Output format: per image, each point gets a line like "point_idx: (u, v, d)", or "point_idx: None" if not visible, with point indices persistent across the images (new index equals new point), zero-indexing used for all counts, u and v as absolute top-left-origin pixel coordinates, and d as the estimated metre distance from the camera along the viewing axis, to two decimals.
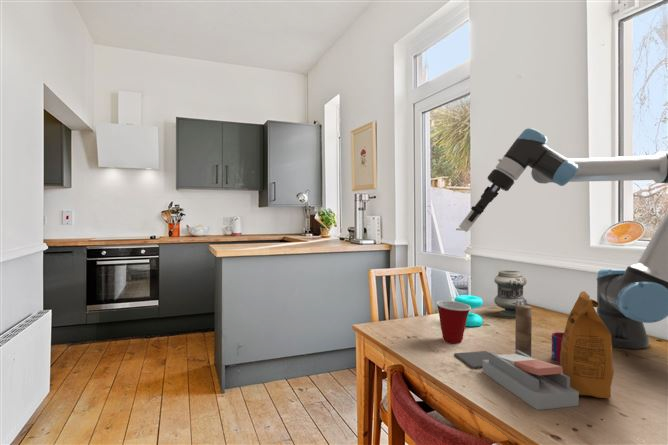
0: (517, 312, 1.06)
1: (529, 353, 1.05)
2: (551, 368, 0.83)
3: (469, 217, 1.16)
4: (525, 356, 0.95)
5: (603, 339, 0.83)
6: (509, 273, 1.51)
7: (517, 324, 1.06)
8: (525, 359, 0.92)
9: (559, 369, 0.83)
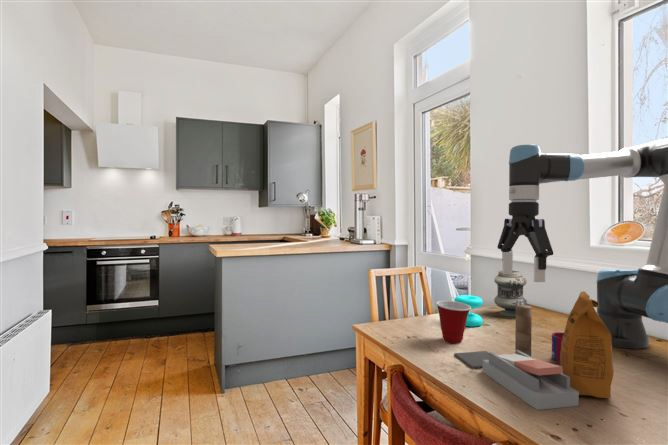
0: (517, 312, 1.06)
1: (529, 353, 1.05)
2: (551, 368, 0.83)
3: (541, 266, 0.99)
4: (525, 356, 0.95)
5: (602, 339, 0.83)
6: None
7: (517, 324, 1.06)
8: (525, 359, 0.92)
9: (559, 369, 0.83)
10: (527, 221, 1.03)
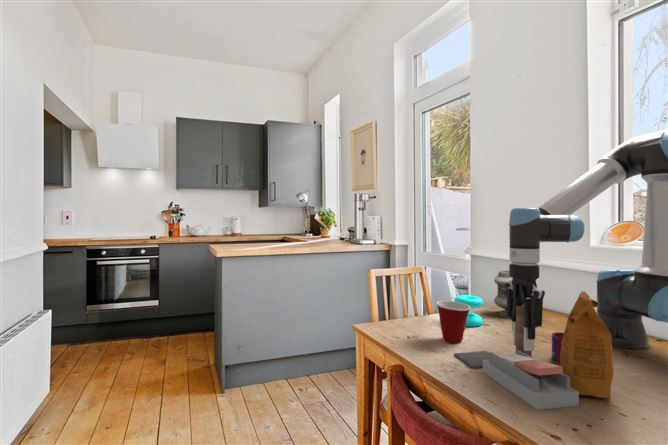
0: (517, 312, 1.06)
1: (529, 353, 1.05)
2: (551, 368, 0.83)
3: (530, 337, 1.03)
4: (525, 356, 0.95)
5: (603, 339, 0.83)
6: None
7: (517, 324, 1.06)
8: (525, 359, 0.92)
9: (559, 369, 0.83)
10: (528, 286, 1.03)
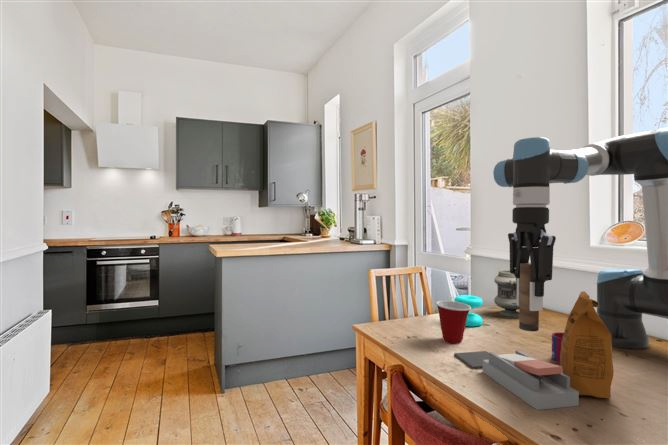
0: (521, 270, 0.88)
1: (536, 319, 0.87)
2: (551, 368, 0.83)
3: (538, 293, 0.85)
4: (525, 356, 0.95)
5: (603, 339, 0.83)
6: (509, 273, 1.51)
7: (521, 285, 0.88)
8: (525, 359, 0.92)
9: (559, 369, 0.83)
10: (535, 231, 0.85)
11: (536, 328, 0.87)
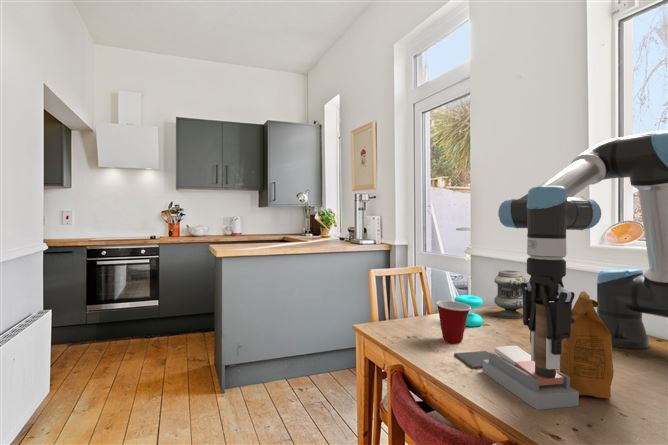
0: (538, 312, 0.83)
1: None
2: (552, 379, 0.82)
3: (555, 351, 0.80)
4: None
5: (603, 339, 0.83)
6: (509, 273, 1.51)
7: (538, 327, 0.83)
8: (526, 358, 0.91)
9: (560, 380, 0.83)
10: (552, 286, 0.80)
11: (553, 373, 0.82)
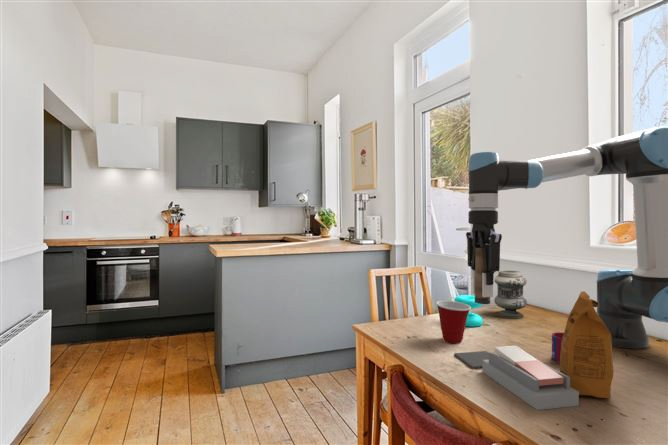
0: (476, 253, 1.05)
1: None
2: (552, 379, 0.82)
3: (488, 282, 1.02)
4: None
5: (603, 339, 0.83)
6: (509, 273, 1.51)
7: (476, 265, 1.05)
8: (526, 358, 0.91)
9: (560, 380, 0.83)
10: (486, 230, 1.02)
11: (488, 301, 1.04)
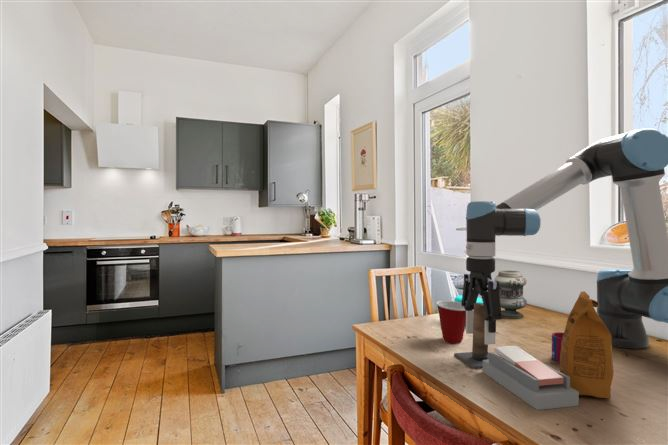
0: (475, 310, 1.06)
1: (485, 351, 1.05)
2: (552, 379, 0.82)
3: (491, 330, 1.00)
4: None
5: (603, 339, 0.83)
6: (509, 273, 1.51)
7: (474, 322, 1.06)
8: (526, 358, 0.91)
9: (560, 380, 0.83)
10: (483, 279, 1.03)
11: (485, 358, 1.05)
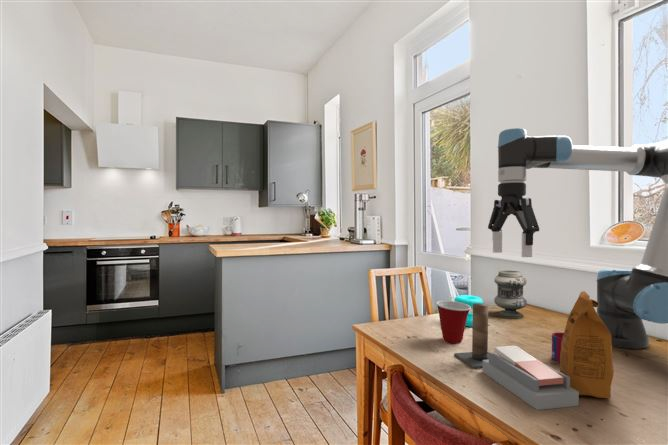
0: (474, 310, 1.06)
1: (485, 351, 1.05)
2: (552, 379, 0.82)
3: (528, 242, 1.05)
4: None
5: (603, 339, 0.83)
6: (509, 273, 1.51)
7: (474, 322, 1.06)
8: (526, 358, 0.91)
9: (560, 380, 0.83)
10: (515, 200, 1.10)
11: (485, 358, 1.05)
